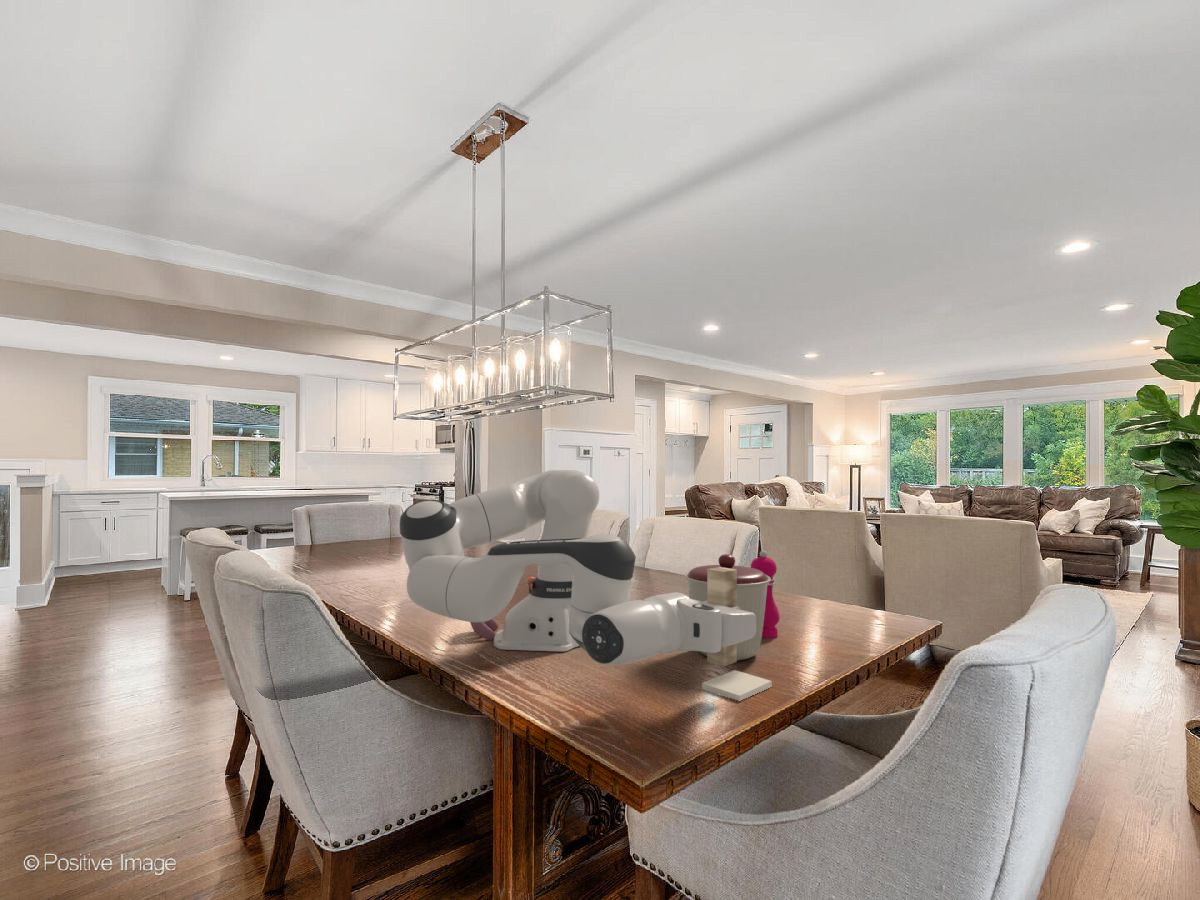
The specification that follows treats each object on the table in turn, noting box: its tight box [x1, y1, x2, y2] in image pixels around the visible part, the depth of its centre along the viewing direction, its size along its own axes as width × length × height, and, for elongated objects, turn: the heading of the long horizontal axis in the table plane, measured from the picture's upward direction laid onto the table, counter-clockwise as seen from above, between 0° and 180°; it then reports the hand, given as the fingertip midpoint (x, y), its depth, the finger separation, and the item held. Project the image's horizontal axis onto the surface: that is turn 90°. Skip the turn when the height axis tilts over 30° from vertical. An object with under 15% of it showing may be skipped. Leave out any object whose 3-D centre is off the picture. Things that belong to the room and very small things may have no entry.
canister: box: [683, 554, 771, 661], centre depth 127 cm, size 18×18×21 cm
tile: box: [701, 669, 773, 702], centre depth 107 cm, size 2×8×10 cm
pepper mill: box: [750, 550, 780, 639], centre depth 141 cm, size 7×7×20 cm
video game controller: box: [469, 618, 499, 641], centre depth 140 cm, size 10×5×7 cm, turn 4°
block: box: [706, 567, 738, 667], centre depth 104 cm, size 4×4×16 cm
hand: (725, 608), depth 104 cm, fingers closed on block, 4 cm apart
